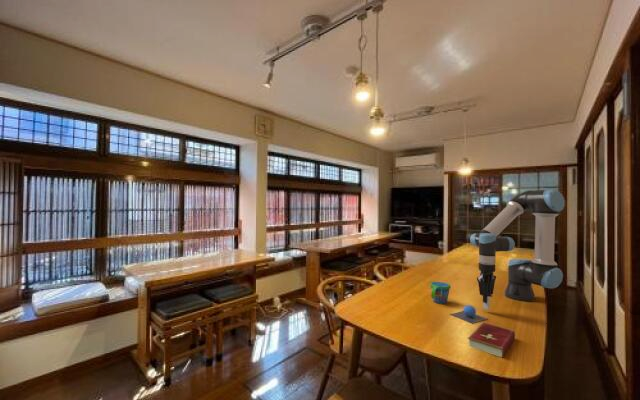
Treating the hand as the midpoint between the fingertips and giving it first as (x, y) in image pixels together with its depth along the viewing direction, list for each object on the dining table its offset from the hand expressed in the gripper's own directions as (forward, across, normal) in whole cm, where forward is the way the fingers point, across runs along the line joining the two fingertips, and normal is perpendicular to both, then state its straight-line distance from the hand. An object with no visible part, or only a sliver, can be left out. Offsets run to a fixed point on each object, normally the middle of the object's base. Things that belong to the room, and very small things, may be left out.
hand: (486, 308), depth 148 cm
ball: (-1, +13, 0) cm, 13 cm away
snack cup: (+2, +9, -21) cm, 23 cm away
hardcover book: (+3, +29, +21) cm, 36 cm away
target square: (+2, +14, 0) cm, 14 cm away
